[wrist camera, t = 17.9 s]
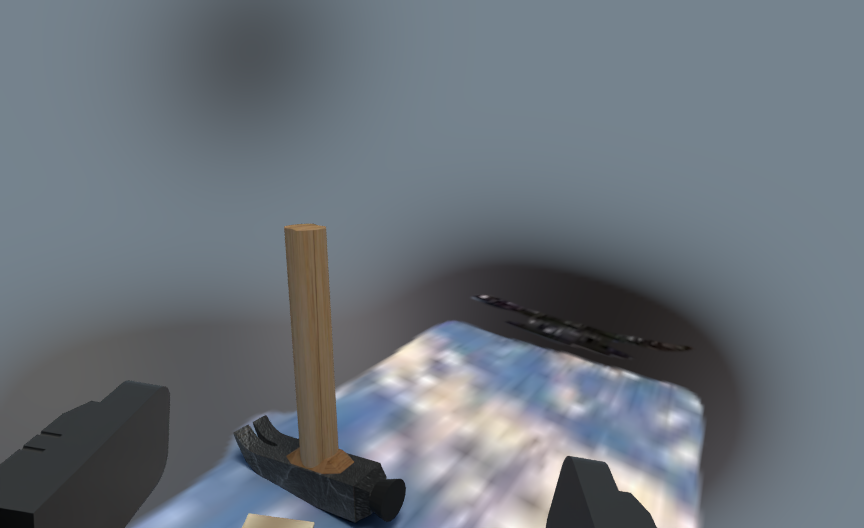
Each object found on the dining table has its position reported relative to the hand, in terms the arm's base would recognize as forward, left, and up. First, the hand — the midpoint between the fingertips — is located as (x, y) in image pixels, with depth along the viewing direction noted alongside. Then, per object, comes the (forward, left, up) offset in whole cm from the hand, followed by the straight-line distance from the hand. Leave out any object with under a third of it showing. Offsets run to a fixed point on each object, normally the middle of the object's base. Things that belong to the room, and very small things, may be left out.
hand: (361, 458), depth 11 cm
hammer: (-8, +42, -36) cm, 56 cm away
